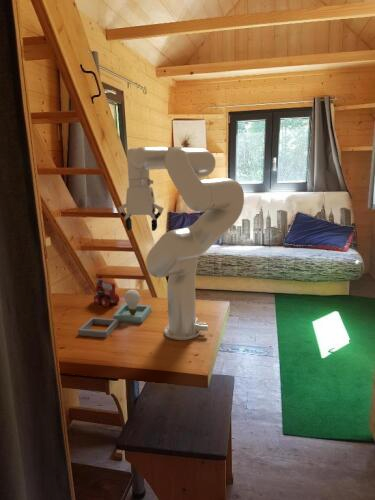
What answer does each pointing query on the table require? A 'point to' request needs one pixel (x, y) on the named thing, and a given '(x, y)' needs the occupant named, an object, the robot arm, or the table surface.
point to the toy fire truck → (105, 293)
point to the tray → (138, 317)
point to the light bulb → (132, 300)
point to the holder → (98, 333)
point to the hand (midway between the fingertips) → (141, 229)
